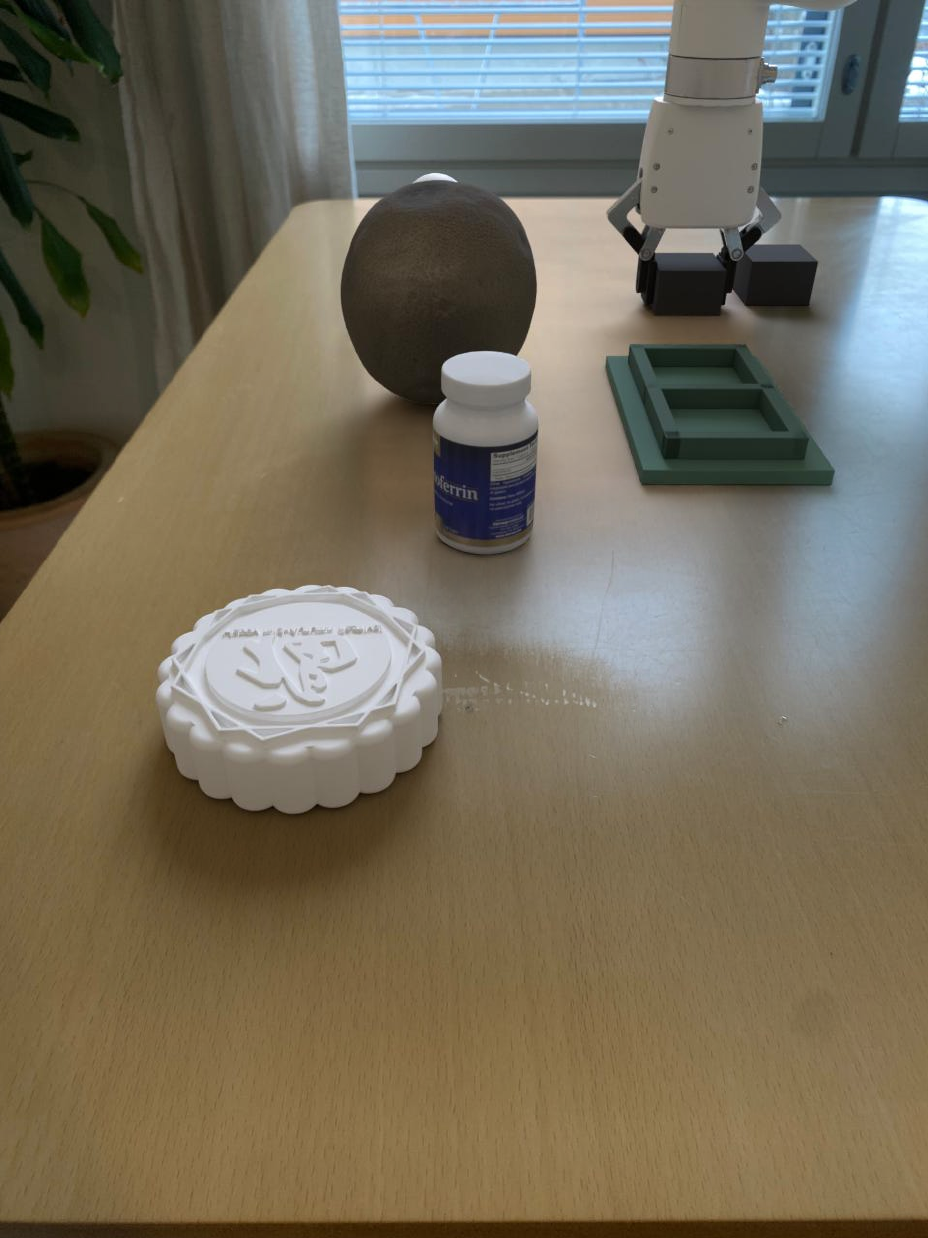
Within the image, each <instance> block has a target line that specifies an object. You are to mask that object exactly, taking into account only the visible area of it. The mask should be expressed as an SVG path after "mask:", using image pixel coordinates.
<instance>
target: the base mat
mask: <svg viewBox="0 0 928 1238" xmlns="http://www.w3.org/2000/svg"><path fill="white" fill-rule="evenodd" d="M628 345H629V346H628V354H627V355H606V356H605V366H604V368H605V371H606V375H607V377H608V381H609V383H610V387H611V391H612V393H613V396H614V397H613V398H614V400H615V402H616V407H617V409H618V413H619V416H620V419H621V422H622V426H623V429H624V432H625V435H626V438H627V441H628V444H629V445H628V446H629V448H630V451H631V454H632V458H633V461H634V465H635V467H636V471H637V474H638V477H639V480H640V483H641V485H832V484H833V482H834V478H835V473H836V470H835V468H834V467H833V466H832V464H831V462H830V460H828V458H827V457H826V455H825V454H824V452H823V451H822V449H821V447H820V446H819V445H818V443H817V442H816V440H815V439H814V438H813V436H812V435H811V432H809V430H808V429H807V427H806V426H805V425H804V423H803V422H802V420H801V419H800V417H799V416H798V414H797V413H796V411H795V410H794V408H793V407H792V406H791V404H790V403H789V401H788V400H787V398H786V396H784V394H783V392H782V390H780V387H778V385H777V384H776V382H775V381H774V379H773V378H772V377H771V375H770V373H769V372H768V370H767V369H766V368H765V366H764V364H763V363H762V362H761V359H759V357H758V356H757V355H753V353H752V351H751V349H750V348H749V347H748V346H747V344H745V343H744V344H743V343H734V344H733V343H732V344H731V343H728V344H727V343H723V344H721V343H719V344H718V343H710V344H709V343H705V344H704V343H699V344H698V343H689V344H688V343H629V344H628Z"/></svg>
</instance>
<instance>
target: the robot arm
mask: <svg viewBox="0 0 928 1238" xmlns="http://www.w3.org/2000/svg"><path fill="white" fill-rule="evenodd" d="M857 1H858V0H673V3H672V5H673V6H672V13H671V14H672V15H671V25H670V34H669V42H668V54H667V60H666V61H667V62H666V69H665V70H666V71H665V80H664V88H663V89H664V90H663V96H655V97H654V98H653V100H652V102H651V106H650V109H649V113H648V117H647V120H646V124H645V130H644V135H643V139H642V140H643V141H642V145H641V151H640V158H639V164H638V171H637V177H636V181H635V182H634V183H633V184H632V185H631V186H630V187H629V188H628V189H627V190H626V191H625V192H624V193H623V194H622V195H621V196H620V197H619V198H618V199H617V200H616V201H615V202H614V203H613V204H612V205H611V206H610V207H609V208H608V209H607V210H606V212H605V216H606V218H607V220H608V222H609V223H610V224H611V225H612V226H613V227H614V229H615V230H616V231H617V232H618V233H619V234H620V235H621V237H623V239H624V240H625V242H626V243H627V244H628V245H629V246H630V247H631V249H633V251H634V252H635V253H636V254H637V255H638V257H637V258H638V259H637V268H636V269H637V270H636V275H635V276H636V277H635V292H636V293H635V294H640V298H641V300H642V302H643V304H644V306H650V305H651V304H652V303H653V296H654V287H655V278H656V270H657V265H658V263H657V260H656V259H655V253H656V250H657V248H658V247H659V244H660V242H661V240H662V238H663V236H664V234H665V232H666V230H667V229H669V230H670V229H671V230H672V229H673V230H674V229H676V230H680V229H682V230H683V229H684V230H685V229H686V230H687V229H688V230H692V229H693V230H697V229H698V230H699V229H701V230H705V229H706V230H707V229H708V230H709V229H710V230H712V229H713V230H717V229H718V230H719V235H720V238H721V244H722V247H721V249H720V251H719V252H718V254H716V255H715V256H716V258H717V259H718V260H719V262H720V263H721V264H722V266H723V267H724V268H725V269H726V270H727V274H726V280H725V287H724V293H723V299H722V305H721V306H725V304H726V301H727V296H728V295H727V294H732V293H733V290H734V289H733V284H734V278H735V272H736V266H737V261H738V260H740V259H741V258H742V256H743V253H745V252H746V251H747V250H748V249H749V248H750V247H751V246H753V245H754V244H756V243H757V242H758V241H759V240H760V239H761V238H762V236H763V235H764V234H767V232H769V231H770V230H771V229H772V228H773V227H774V226H775V225H777V224H778V223H779V222H780V221H781V220H782V218H783V217H782V212H781V210H779V208H778V207H777V205H776V204H775V203H774V202H773V200H772V199H771V197H770V195H769V194H768V193H767V192H766V191H765V189H764V188H763V186H762V185H761V184H760V179H761V170H762V169H761V168H762V155H763V139H764V138H763V137H764V136H763V135H764V108H763V107H764V106H763V104H764V103H763V100H761V99H760V98H758V97H757V94H758V95H759V93H760V89H761V88H762V86H766V85H767V84H775V83H776V81H777V77H778V65H777V64H769V62H766V61H765V57H763V53H764V46H765V39H766V34H767V28H768V21H769V14H770V7H771V5H772V4H774V5H783V6H789V7H794V8H799V9H805V10H809V11H815V12H816V11H817V12H831V11H836V10H840V9H844V8H845V7H848V6H850V5H852V4H854V3H856V2H857ZM633 209H634V211H635V212H636V214H638V215H639V216H640V219H641V221H642V223H643V224H644V226H643V229H642V230H641V232H640V231H639V230H638V229H637V228H636V227H635V225H633V223H631V221H630V220H629V219H628V215H629V213H630V212H631V211H633ZM756 209H757V210H758V216H757V217H756V218H755V219H754V215H755V212H756ZM753 219H754V220H753ZM752 220H753V221H752ZM751 221H752V222H751ZM741 227H743V228H742V229H741V230H739V228H741Z"/></svg>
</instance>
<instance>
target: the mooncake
mask: <svg viewBox="0 0 928 1238" xmlns="http://www.w3.org/2000/svg"><path fill="white" fill-rule="evenodd" d="M419 622H420V621H419V618H418V616H417V615H416V614H415V613H414V612H413V611H412V610H410V609H408V608H404V607H402V606H401V607H400V606H395V605H394V603H393V602H392V601H391V600H390V598H388V597H386V596H384V595H381V594H375V593H374V594H373V593H371V594H369V593H368V591H359V590H358V589H356V588H354V587H349V586H338V587H335V586H332V585H330V584H327V585H323V586H321V585H317V584H306V585H303V586H299V587H297V588H295V589H293V590H288V589H286V588H274V589H273V588H272V589H268V590H266V591H263V592H262V593H260V594H249V595H248V596H246V597H243V598H238V599H234V600H232V601H231V602H230V603H228V604H226V605H225V606H224V608H220V609H215V610H214V611H213V612H212V613H209V614H206V615H203V616H201V618H199V619H198V620H197V621H196V622H194V623H195V624H194V625H193V628H192V631H189V632H186V633H184V634H182V635H180V636H178V637H177V638H176V639H175V640H174V641H173V643H172V644H171V647H170V656H168V657H166V658H165V659H163V661H162V662H161V663H160V664H159V666H158V669H157V679H158V683H159V686H158V687H157V689H156V692H155V702H156V706H157V710H158V711H157V712H158V714H159V718H160V723H161V726H162V730H163V734H164V738H165V743H166V745H167V748H168V749H169V751H170V752H171V753H172V754H174V759H175V763H176V767H177V769H178V771H179V773H180V774H181V775H182V776H183V777H185V778H187V779H189V780H193V781H198V784H199V788H200V790H202V792H203V793H204V794H205V795H206V796H208V797H210V798H212V799H216V800H227V799H232V800H233V802H234V804H235V805H237V806H238V807H239V808H241V809H242V810H246V811H250V812H258V811H263V810H267V809H269V808H271V807H274V808H275V809H276V810H277V811H279V812H281V813H284V814H289V815H298V814H303V813H305V812H307V811H309V810H311V809H313V808H314V807H315V806H316V805H319V806H321V807H324V808H328V809H329V808H330V809H336V808H342V807H344V806H347V805H349V804H351V803H352V802H353V801H354V800H355V799H357V798H358V796H359V794H360V793H361V794H375V793H379V792H382V791H384V790H385V789H387V788H388V787H390V785H392V783H393V782H394V779H395V778H396V774H399V773H405V772H408V771H410V770H412V769H413V768H415V767H416V766H417V765H418V764H419V763H420V761H421V759H422V755H423V748H425V747H428V746H429V745H430V744H431V743H433V741H434V740H435V739H436V737H437V735H438V734H439V733H438V732H439V716H440V714H441V713H442V710H443V662H442V661H443V660H442V657H441V656H440V654H439V652H437V650H436V638H435V635H434V634H433V632H432V631H431V630H430V629H429V628H427V627H425V626H423V625H421V624H420V623H419Z"/></svg>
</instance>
